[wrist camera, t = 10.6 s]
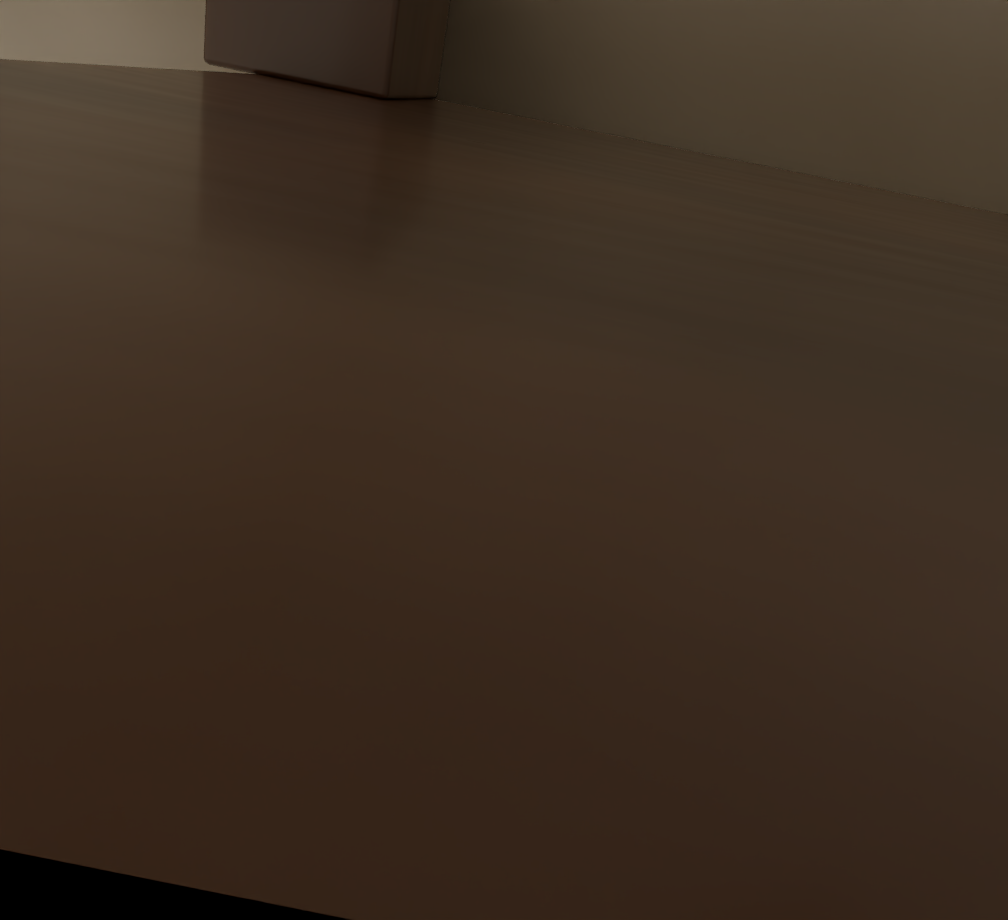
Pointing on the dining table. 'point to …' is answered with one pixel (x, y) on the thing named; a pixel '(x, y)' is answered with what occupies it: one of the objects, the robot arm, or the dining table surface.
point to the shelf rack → (482, 507)
